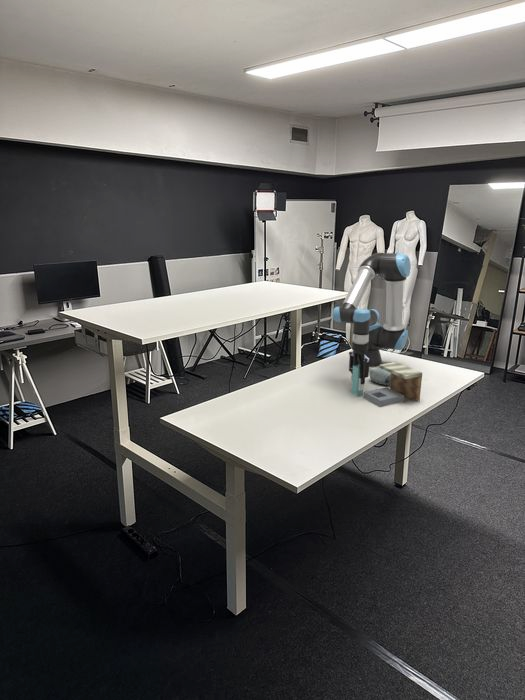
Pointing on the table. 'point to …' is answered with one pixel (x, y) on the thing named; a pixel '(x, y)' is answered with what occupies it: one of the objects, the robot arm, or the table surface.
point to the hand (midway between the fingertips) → (357, 388)
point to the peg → (356, 380)
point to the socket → (383, 396)
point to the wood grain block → (404, 380)
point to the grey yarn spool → (380, 376)
